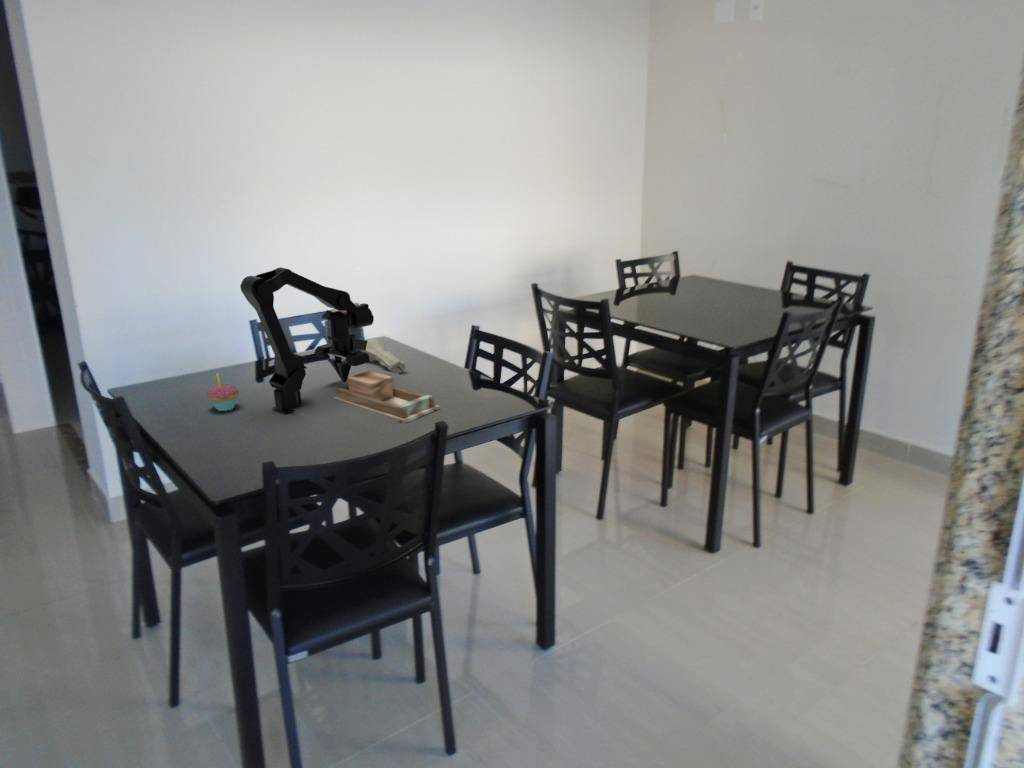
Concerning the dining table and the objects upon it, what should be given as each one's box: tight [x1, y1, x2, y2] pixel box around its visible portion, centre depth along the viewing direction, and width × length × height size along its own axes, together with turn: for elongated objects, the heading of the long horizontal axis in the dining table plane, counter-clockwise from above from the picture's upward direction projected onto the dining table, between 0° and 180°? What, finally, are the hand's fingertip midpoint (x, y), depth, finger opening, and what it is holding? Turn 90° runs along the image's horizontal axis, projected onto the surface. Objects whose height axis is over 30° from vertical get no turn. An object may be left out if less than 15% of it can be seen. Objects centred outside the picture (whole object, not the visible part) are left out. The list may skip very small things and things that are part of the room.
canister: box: [323, 309, 364, 357], centre depth 262 cm, size 13×13×18 cm
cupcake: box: [207, 372, 240, 412], centre depth 211 cm, size 9×8×12 cm
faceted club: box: [361, 337, 406, 375], centre depth 248 cm, size 9×8×25 cm
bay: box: [333, 385, 441, 425], centre depth 214 cm, size 14×30×4 cm, turn 51°
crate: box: [347, 370, 394, 401], centre depth 217 cm, size 8×10×6 cm
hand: (344, 381), depth 224 cm, fingers closed
